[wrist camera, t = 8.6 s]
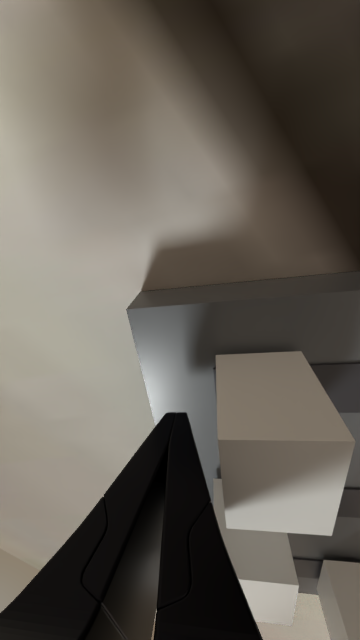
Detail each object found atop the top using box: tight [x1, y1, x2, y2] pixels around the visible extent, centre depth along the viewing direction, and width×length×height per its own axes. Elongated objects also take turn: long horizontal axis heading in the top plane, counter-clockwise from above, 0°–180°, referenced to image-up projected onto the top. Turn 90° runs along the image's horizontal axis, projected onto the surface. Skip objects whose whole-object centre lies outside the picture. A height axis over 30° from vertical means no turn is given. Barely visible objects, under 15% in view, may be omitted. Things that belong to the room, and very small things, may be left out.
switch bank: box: [126, 271, 360, 595], centre depth 13 cm, size 23×14×2 cm, turn 8°
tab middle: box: [213, 479, 299, 626], centre depth 11 cm, size 4×3×4 cm
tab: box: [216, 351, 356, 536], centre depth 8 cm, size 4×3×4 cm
